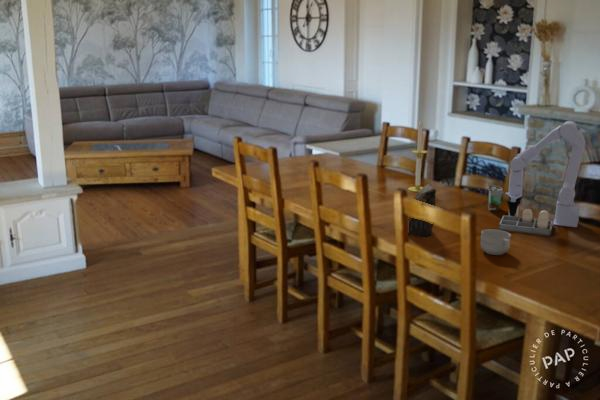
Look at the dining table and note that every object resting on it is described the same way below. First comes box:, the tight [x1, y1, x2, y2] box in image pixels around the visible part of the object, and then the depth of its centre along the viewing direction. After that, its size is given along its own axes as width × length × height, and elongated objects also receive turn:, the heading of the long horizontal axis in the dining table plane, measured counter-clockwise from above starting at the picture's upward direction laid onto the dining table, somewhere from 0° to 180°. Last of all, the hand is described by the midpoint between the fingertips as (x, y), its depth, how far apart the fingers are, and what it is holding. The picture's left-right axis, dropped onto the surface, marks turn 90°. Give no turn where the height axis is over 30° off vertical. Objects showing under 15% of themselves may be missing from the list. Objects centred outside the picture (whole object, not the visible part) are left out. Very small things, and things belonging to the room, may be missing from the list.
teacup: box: [480, 228, 512, 256], centre depth 239 cm, size 14×11×8 cm
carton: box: [498, 215, 554, 237], centre depth 269 cm, size 20×14×2 cm
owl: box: [408, 183, 437, 239], centre depth 261 cm, size 13×13×20 cm
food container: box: [487, 184, 504, 212], centre depth 295 cm, size 12×6×10 cm, turn 168°
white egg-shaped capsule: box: [507, 205, 520, 217], centre depth 283 cm, size 4×4×7 cm
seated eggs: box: [521, 208, 550, 229], centre depth 267 cm, size 11×11×7 cm
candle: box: [407, 118, 428, 193], centre depth 326 cm, size 10×10×38 cm
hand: (513, 213), depth 283 cm, fingers open, 7 cm apart
